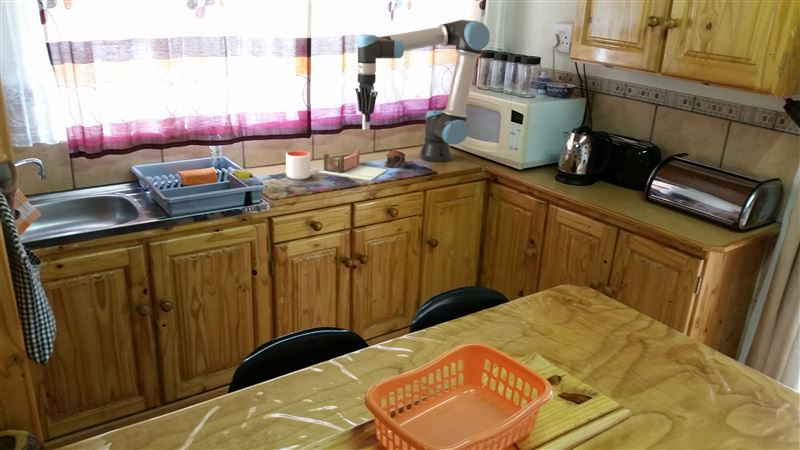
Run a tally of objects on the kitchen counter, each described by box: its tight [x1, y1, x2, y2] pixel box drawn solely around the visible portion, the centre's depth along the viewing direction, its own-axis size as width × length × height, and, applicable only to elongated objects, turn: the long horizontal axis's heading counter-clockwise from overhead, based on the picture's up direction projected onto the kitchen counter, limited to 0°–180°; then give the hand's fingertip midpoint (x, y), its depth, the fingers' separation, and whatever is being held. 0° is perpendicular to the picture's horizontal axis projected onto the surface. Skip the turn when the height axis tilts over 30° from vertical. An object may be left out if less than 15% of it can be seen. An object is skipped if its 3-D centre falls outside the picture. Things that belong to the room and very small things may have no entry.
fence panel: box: [344, 149, 361, 171], centre depth 280 cm, size 13×2×7 cm, turn 154°
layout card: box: [317, 164, 388, 182], centre depth 278 cm, size 24×19×1 cm
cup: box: [285, 150, 312, 181], centre depth 265 cm, size 10×10×10 cm
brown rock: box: [384, 149, 406, 169], centre depth 290 cm, size 12×10×8 cm
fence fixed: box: [323, 153, 345, 173], centre depth 274 cm, size 9×2×8 cm, turn 69°
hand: (365, 129), depth 275 cm, fingers closed
